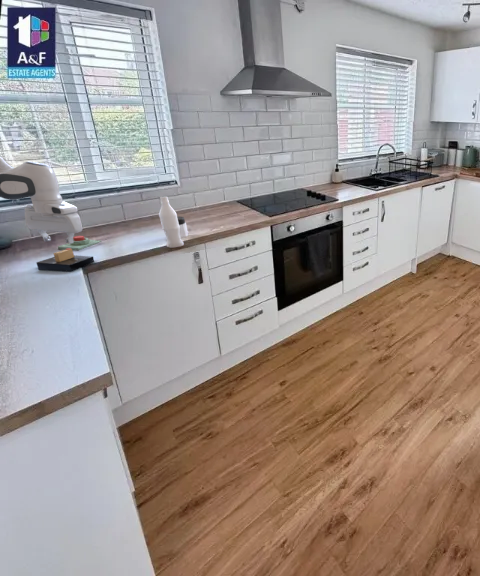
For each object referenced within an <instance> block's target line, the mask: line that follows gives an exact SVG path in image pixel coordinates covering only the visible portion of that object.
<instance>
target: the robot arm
mask: <svg viewBox="0 0 480 576" xmlns="http://www.w3.org/2000/svg"><path fill="white" fill-rule="evenodd" d="M57 178H58V177H57V175H56V173H55V170H54V169H53V168H52V167H51V166H50V165H48V164H46V163H43V162H38V161H37V162H36V161H24V162H23V163H22V164H20V165H18V166H16V167H14V166H12V165H11V164H9V163H8V161H6V159H4V158H3V157H2V156H1V155H0V198H2V199H4V200H10V201H17V200H21V199H27V198H30V200H31V203H32V205H30V204H28V205H26V206H25V207H24V219H25V224H26V227H27V228H28V229H29V230H32V231H37V232H38V234H39V236H40V237H42V240H43V242H51V241H52V238H51V236H50V235H49V234H48V233H47V232H54V233H55V232H56V233H65V235H66V236H67V238H65V242H66V243H65V244H68V243H70V244H71V243H73V242H74V241H73V237H75V234H77V233H81V232H82V231H83V229H84V228H83V223H82V219H81V217H80V215H79V213H77V212H78V211H79V210H78V207H77V206H75V205H74V204H71V203H68V202H66V201H64V199H63V196H62V195H61V192H60V185H59V181H58V179H57Z"/></svg>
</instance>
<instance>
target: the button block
mask: <svg viewBox="0 0 480 576" xmlns="http://www.w3.org/2000/svg"><path fill="white" fill-rule="evenodd" d="M84 239H85V240H82V241H74V239H73V241H74V242H73V243H71V244H70V243H65V244H61V245H59V246H57V249H58V250H61V251H62V250H65V249H67V248H71V249H72V250H73V251H81V250H83V249H86V248H88V247H91V246H94V245H96V244H98V243H101V242H102V240H97V239H89V238H88V237H84Z"/></svg>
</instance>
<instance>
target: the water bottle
mask: <svg viewBox="0 0 480 576" xmlns="http://www.w3.org/2000/svg"><path fill="white" fill-rule="evenodd" d="M159 200H160V203H159V204H160V209H159V213H158V217H159V220H160V224H161V229H162V231H163V232H164V234H165V237H166V247H167V248H170V249H175V248H180V247H182V246H184V245H185V244H184V241H183V240H182V238H180V233H179V231H180V226H179V223H178V218H177V217H178V214H177V212H176V211H175V209H174V208H173V207H172V206H171V204H170V201H169V197H168V196H167V195H166V196H160V197H159Z"/></svg>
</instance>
